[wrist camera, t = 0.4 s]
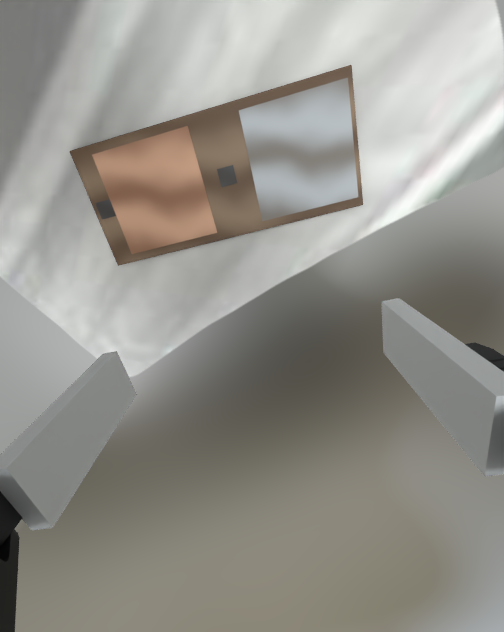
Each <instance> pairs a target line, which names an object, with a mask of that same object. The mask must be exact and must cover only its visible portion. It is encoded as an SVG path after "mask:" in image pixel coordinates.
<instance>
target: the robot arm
mask: <svg viewBox="0 0 504 632" xmlns="http://www.w3.org/2000/svg"><path fill="white" fill-rule="evenodd" d="M382 323H383V324H382V325H383V348H384V354H385V355H386V356H387V357H388V359H389V360H390V361H391V362H392V364H393V365H394V366H395V367H396V368H397V370H398V371H399V372H400V373H401V375H402V376H403V377H404V378H405V379H406V381H407V382H408V383H409V384H410V385H411V387H412V388H413V389H414V391H415V392H416V393H417V394H418V395H419V397H420V398H421V399H422V400H423V402H424V403H425V404H426V405H427V406H428V408H429V409H430V410H431V411H432V413H433V414H434V415H435V416H436V417H437V419H438V420H439V421H440V422H441V424H442V425H443V426H444V427H445V429H446V430H447V431H448V432H449V433H450V435H451V436H452V437H453V438H454V440H455V441H456V442H457V443H458V444H459V446H460V447H461V448H462V449H463V451H464V452H465V453H466V454H467V455H468V457H469V458H470V459H471V460H472V462H473V463H474V464H475V465H476V466H477V468H478V469H479V470H480V471H481V472H482V474H483V475H484V476H492V475H501V474H504V356H503V355H501V354H500V353H498V352H497V351H495V350H494V349H491V348H489V347H486V346H483V345H480V344H477V343H470V344H463V343H462V342H461V341H459V340H458V339H456V338H455V337H453V336H452V335H450V334H449V333H448V332H446V331H445V330H443V329H442V328H440V327H439V326H438V325H436V324H435V323H433V322H432V321H431V320H429V319H428V318H426V317H425V316H423V315H422V314H420V313H419V312H418V311H416V310H415V309H413V308H412V307H411V306H409V305H408V304H406V303H405V302H404V301H402V300H401V299H399V298H397V299H392V300H386V301H382ZM136 395H137V394H136V392H135V389H134V387H133V385H132V383H131V381H130V379H129V377H128V374H127V372H126V370H125V368H124V366H123V364H122V361H121V359H120V357H119V355H118V353H117V351H116V352H111V353H105V354H102V355H101V356H100V357H99V358H98V359H97V360H96V361H95V362H94V363H93V364H92V365H91V366H90V367H89V368H88V369H87V370H86V371H85V372H84V373H83V374H82V375H81V376H80V377H79V378H78V379H77V380H76V381H75V382H74V383H73V384H72V385H71V386H70V387H69V388H68V389H67V390H66V391H65V392H64V393H63V394H62V395H61V396H60V397H59V398H58V399H57V400H56V401H55V402H53V404H51V405H50V406H49V407H48V408H47V409H46V410H45V411H44V412H43V413H42V414H41V415H40V416H39V417H38V418H37V419H36V420H35V421H34V422H33V423H32V424H31V425H30V426H29V427H28V428H27V429H26V430H25V431H24V432H23V433H22V434H21V435H20V436H19V437H18V438H17V439H16V440H15V441H14V442H13V443H12V444H11V445H10V446H9V447H8V448H7V449H6V450H5V451H4V452H3V453H2V454H0V632H15V613H16V593H17V574H18V554H19V553H18V552H19V536H18V533H17V532H16V531H15V530H14V528H15V527H16V526H17V524H18V523H19V522H20V520H21V519H23V521H24V522H25V523H26V524H27V525H28V526H29V527H30V529H31V530H38V529H46V528H53V526H54V525H55V523H56V522H57V520H58V519H59V517H60V515H61V514H62V512H63V510H64V509H65V508H66V506H67V504H68V503H69V501H70V500H71V498H72V496H73V495H74V493H75V492H76V490H77V489H78V487H79V485H80V484H81V482H82V481H83V479H84V477H85V475H86V474H87V473H88V471H89V469H90V468H91V466H92V465H93V463H94V461H95V460H96V458H97V457H98V455H99V454H100V452H101V450H102V449H103V447H104V446H105V444H106V443H107V441H108V439H109V437H110V436H111V435H112V433H113V431H114V430H115V428H116V427H117V425H118V423H119V422H120V420H121V418H122V417H123V416H124V414H125V412H126V411H127V409H128V408H129V406H130V404H131V403H132V401H133V400H134V398H135V397H136Z"/></svg>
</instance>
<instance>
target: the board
mask: <svg viewBox="0 0 504 632" xmlns="http://www.w3.org/2000/svg"><path fill="white" fill-rule="evenodd" d="M70 154H71V156H72V158H73V161H74V163H75V165H76V168H77V170H78V172H79V175H80V177H81V179H82V182H83V184H84V186H85V189H86V191H87V194H88V196H89V198H90V201H91V203H92V205H93V208H94V210H95V212H96V215H97V217H98V219H99V222H100V224H101V226H102V229H103V231H104V233H105V236H106V238H107V241H108V243H109V245H110V248H111V250H112V252H113V255H114V257H115V259H116V262H117V264H118V265H122V264H126V263H130V262H134V261H138V260H142V259H146V258H150V257H154V256H158V255H162V254H166V253H171V252H175V251H179V250H183V249H187V248H191V247H195V246H199V245H203V244H207V243H211V242H215V241H219V240H223V239H227V238H231V237H235V236H239V235H243V234H247V233H251V232H255V231H259V230H263V229H267V228H271V227H275V226H279V225H283V224H287V223H291V222H295V221H299V220H303V219H307V218H311V217H315V216H320V215H324V214H328V213H332V212H336V211H340V210H344V209H348V208H352V207H356V206H360V205H363V199H362V187H361V175H360V162H359V150H358V138H357V126H356V114H355V102H354V90H353V78H352V66H351V65H349V66H346V67H343V68H339V69H336V70H333V71H330V72H326V73H323V74H320V75H317V76H313V77H310V78H307V79H304V80H300V81H297V82H294V83H290V84H287V85H284V86H281V87H277V88H274V89H271V90H268V91H264V92H261V93H258V94H255V95H251V96H248V97H245V98H242V99H238V100H235V101H232V102H228V103H225V104H222V105H219V106H215V107H212V108H209V109H206V110H202V111H199V112H196V113H193V114H189V115H186V116H183V117H179V118H176V119H173V120H170V121H166V122H163V123H160V124H157V125H153V126H150V127H147V128H144V129H140V130H137V131H134V132H131V133H127V134H124V135H121V136H117V137H114V138H111V139H108V140H104V141H101V142H98V143H95V144H91V145H88V146H85V147H82V148H78V149H75V150H72V151H70Z"/></svg>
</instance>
